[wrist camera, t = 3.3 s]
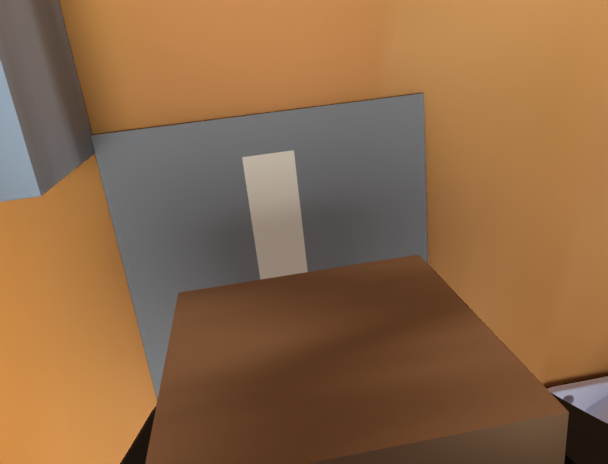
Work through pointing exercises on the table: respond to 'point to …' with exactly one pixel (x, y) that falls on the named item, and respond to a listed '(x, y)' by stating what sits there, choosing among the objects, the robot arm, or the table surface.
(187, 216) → the letter card
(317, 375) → the walnut block
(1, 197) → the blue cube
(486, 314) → the table surface
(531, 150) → the table surface
